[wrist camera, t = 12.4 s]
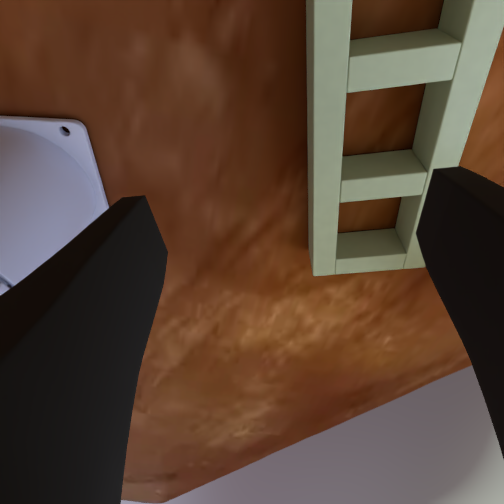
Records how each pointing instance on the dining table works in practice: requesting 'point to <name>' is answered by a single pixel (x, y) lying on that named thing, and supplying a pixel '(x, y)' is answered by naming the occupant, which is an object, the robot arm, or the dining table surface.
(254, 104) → the dining table surface
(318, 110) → the rack
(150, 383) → the dining table surface
